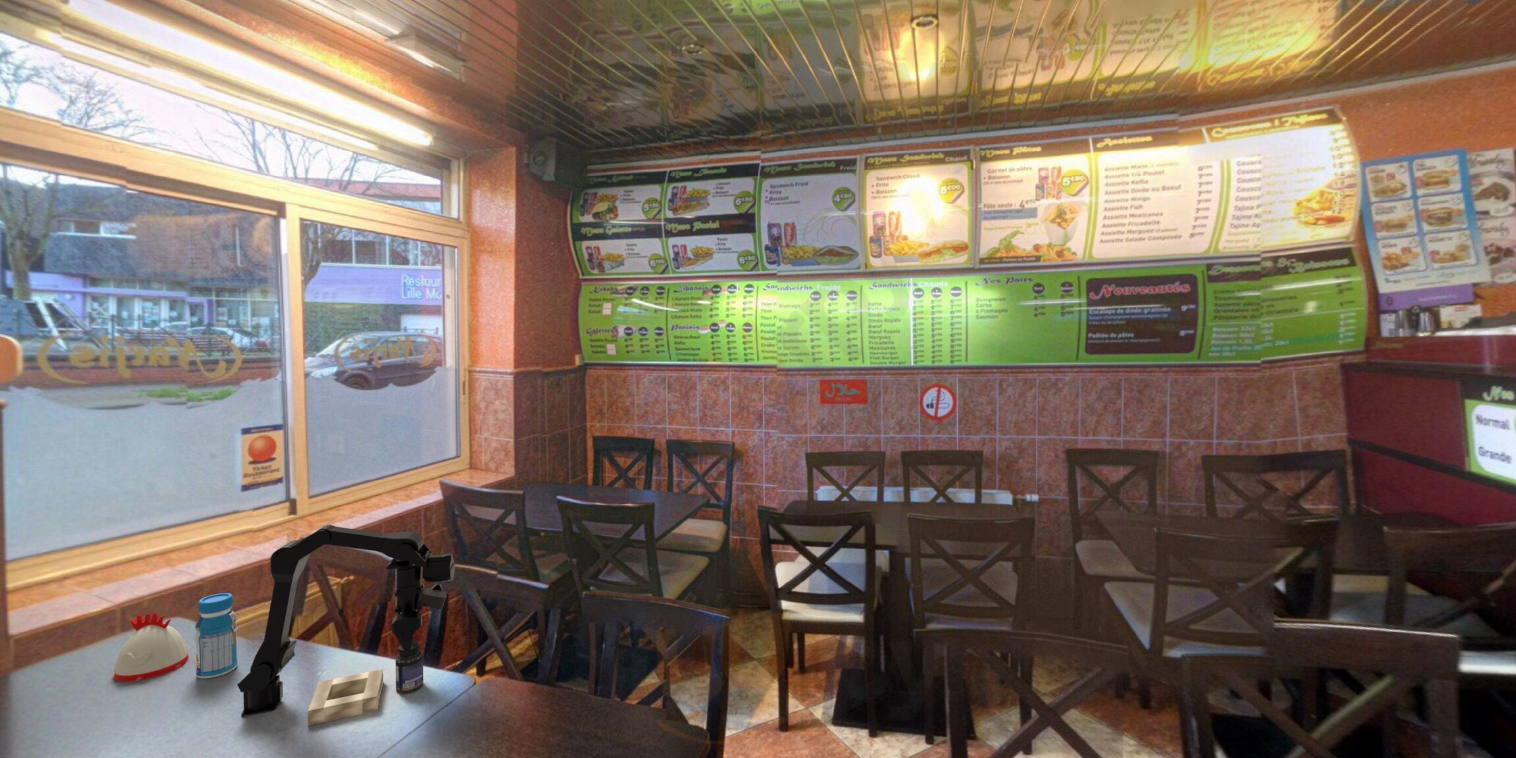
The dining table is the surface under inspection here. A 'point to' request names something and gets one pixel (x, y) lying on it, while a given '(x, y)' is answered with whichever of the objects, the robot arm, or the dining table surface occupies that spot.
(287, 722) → the dining table surface
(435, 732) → the dining table surface
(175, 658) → the cream hat
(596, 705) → the dining table surface
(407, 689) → the pill bottle
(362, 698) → the holder block
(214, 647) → the blue vitamin bottle
